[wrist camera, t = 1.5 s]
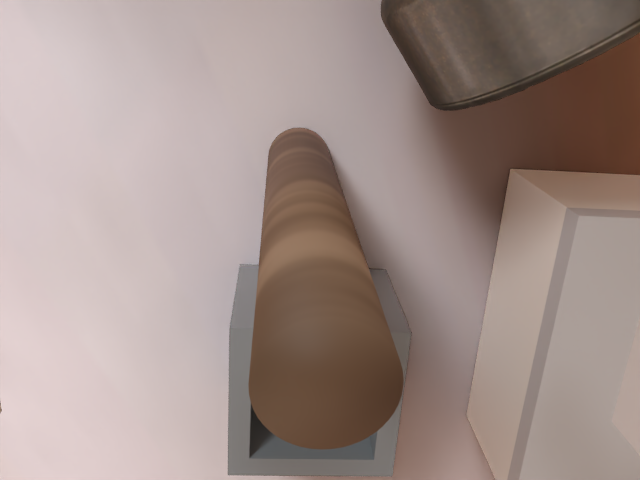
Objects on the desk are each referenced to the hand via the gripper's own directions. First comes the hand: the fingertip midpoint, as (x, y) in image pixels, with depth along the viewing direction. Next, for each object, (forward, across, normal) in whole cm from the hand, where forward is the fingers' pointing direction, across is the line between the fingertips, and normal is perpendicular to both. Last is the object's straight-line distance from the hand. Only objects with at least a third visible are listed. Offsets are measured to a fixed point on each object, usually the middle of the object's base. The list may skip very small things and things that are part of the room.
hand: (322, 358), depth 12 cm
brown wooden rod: (+17, 0, 0) cm, 17 cm away
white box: (+17, +17, -6) cm, 25 cm away
